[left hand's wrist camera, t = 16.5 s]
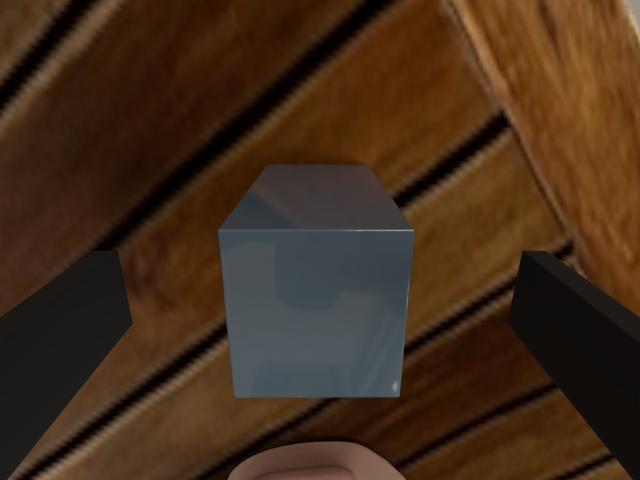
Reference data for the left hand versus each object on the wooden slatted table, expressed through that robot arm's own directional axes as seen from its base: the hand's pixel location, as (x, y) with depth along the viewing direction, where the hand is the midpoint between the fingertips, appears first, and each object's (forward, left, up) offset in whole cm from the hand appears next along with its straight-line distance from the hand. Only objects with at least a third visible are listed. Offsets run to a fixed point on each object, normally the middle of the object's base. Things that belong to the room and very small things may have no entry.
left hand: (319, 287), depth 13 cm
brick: (0, 0, -9) cm, 9 cm away
